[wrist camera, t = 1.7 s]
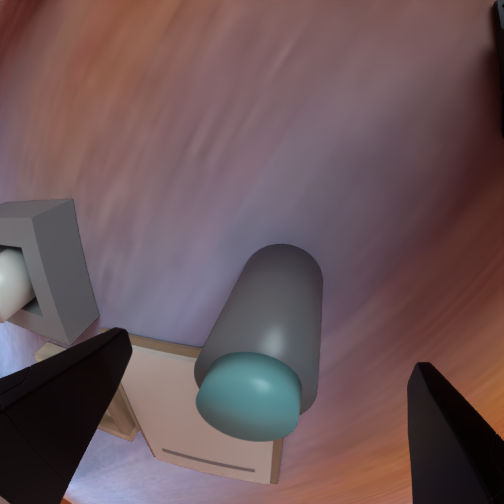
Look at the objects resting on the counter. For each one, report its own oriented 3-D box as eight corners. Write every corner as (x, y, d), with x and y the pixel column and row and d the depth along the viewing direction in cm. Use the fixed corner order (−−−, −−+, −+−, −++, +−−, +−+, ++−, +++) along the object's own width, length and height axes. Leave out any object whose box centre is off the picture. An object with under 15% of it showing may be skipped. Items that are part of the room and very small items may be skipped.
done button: (32, 246, 13) (-9, 271, 11) (48, 300, 15) (13, 329, 12) (2, 243, 14) (-34, 264, 11) (17, 291, 15) (-15, 315, 12)
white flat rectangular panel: (291, 359, 15) (289, 369, 14) (277, 481, 21) (276, 488, 20) (102, 327, 17) (96, 333, 16) (155, 455, 23) (152, 460, 23)
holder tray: (116, 364, 18) (102, 382, 17) (141, 425, 21) (132, 441, 20) (47, 341, 20) (33, 355, 18) (76, 401, 23) (66, 414, 21)
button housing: (72, 198, 14) (31, 217, 11) (99, 315, 17) (70, 345, 14) (4, 202, 15) (-30, 218, 13) (30, 297, 18) (2, 319, 15)
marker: (326, 246, 12) (324, 376, 6) (318, 317, 14) (306, 454, 7) (242, 241, 13) (170, 355, 7) (244, 310, 14) (191, 436, 8)
